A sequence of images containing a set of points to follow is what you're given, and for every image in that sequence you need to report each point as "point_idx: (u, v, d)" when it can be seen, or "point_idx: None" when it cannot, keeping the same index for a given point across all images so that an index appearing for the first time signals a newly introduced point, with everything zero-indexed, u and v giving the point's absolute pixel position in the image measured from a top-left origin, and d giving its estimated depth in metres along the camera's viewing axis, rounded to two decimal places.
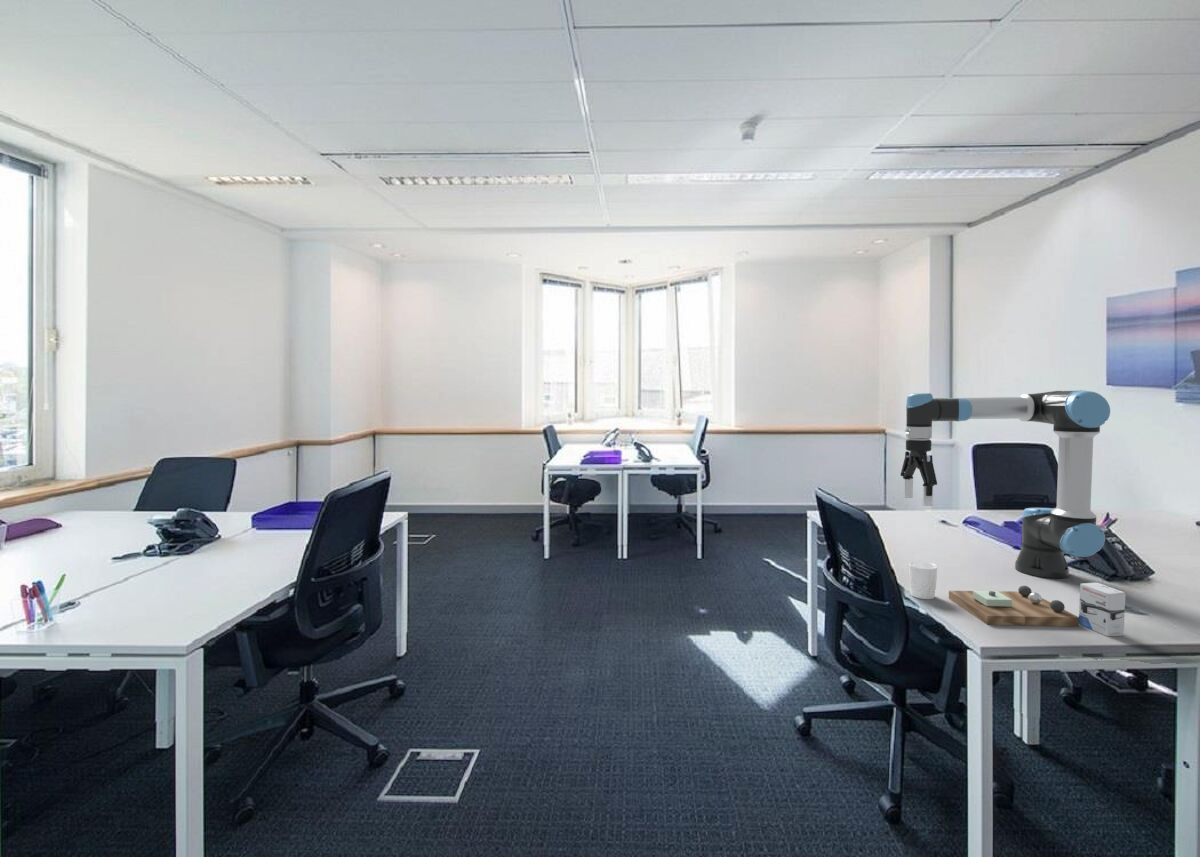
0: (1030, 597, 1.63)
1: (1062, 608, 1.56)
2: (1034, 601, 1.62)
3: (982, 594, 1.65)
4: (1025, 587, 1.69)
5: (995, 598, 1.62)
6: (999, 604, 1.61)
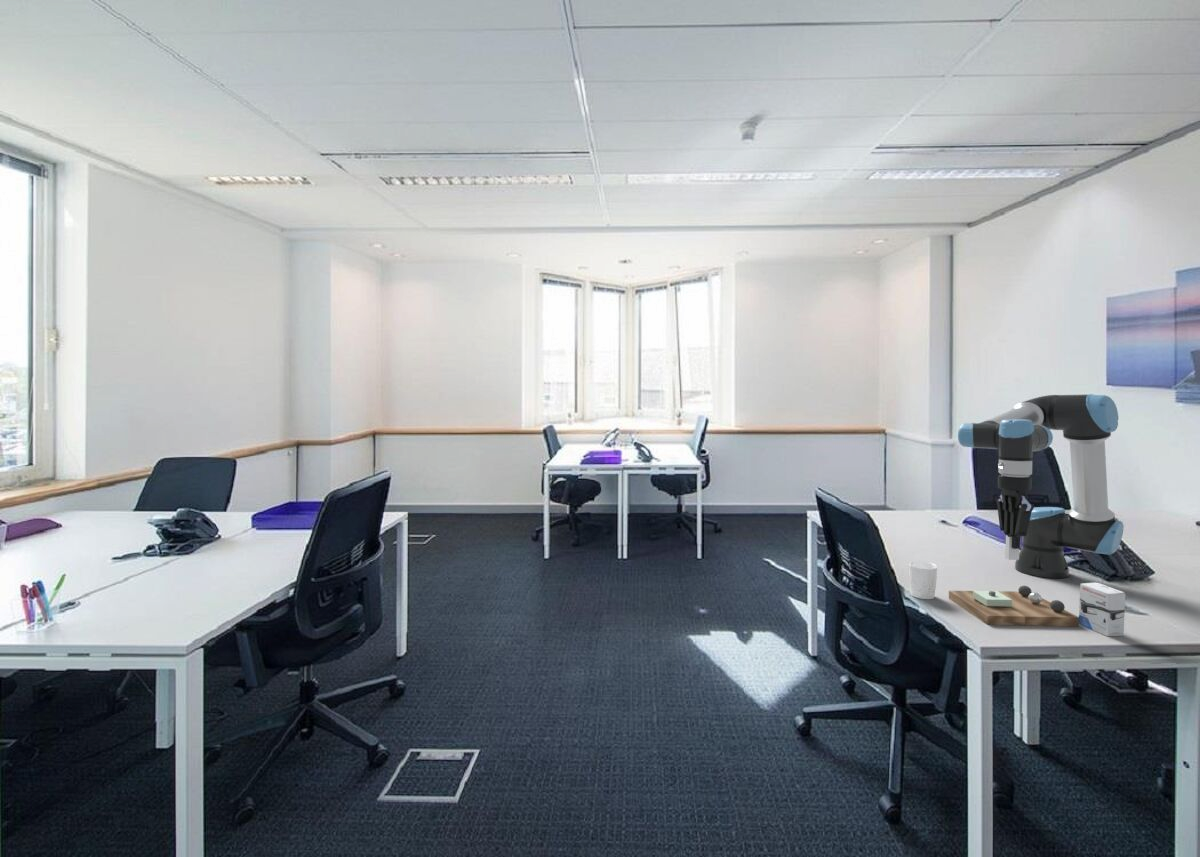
0: (1030, 597, 1.63)
1: (1062, 608, 1.56)
2: (1034, 601, 1.62)
3: (982, 594, 1.65)
4: (1025, 587, 1.69)
5: (995, 598, 1.62)
6: (999, 604, 1.61)
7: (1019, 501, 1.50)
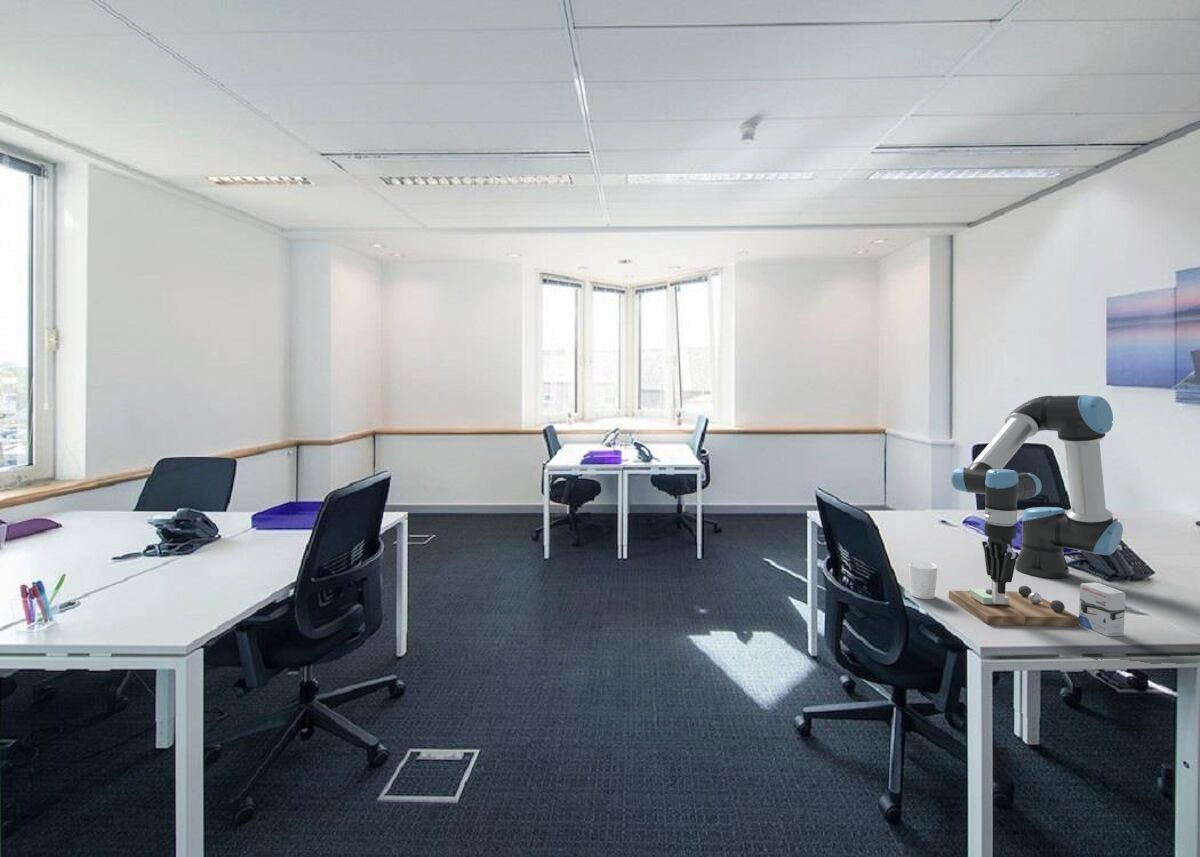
0: (1030, 597, 1.63)
1: (1062, 608, 1.56)
2: (1034, 601, 1.62)
3: (979, 592, 1.66)
4: (1025, 587, 1.69)
5: None
6: None
7: (1004, 549, 1.57)
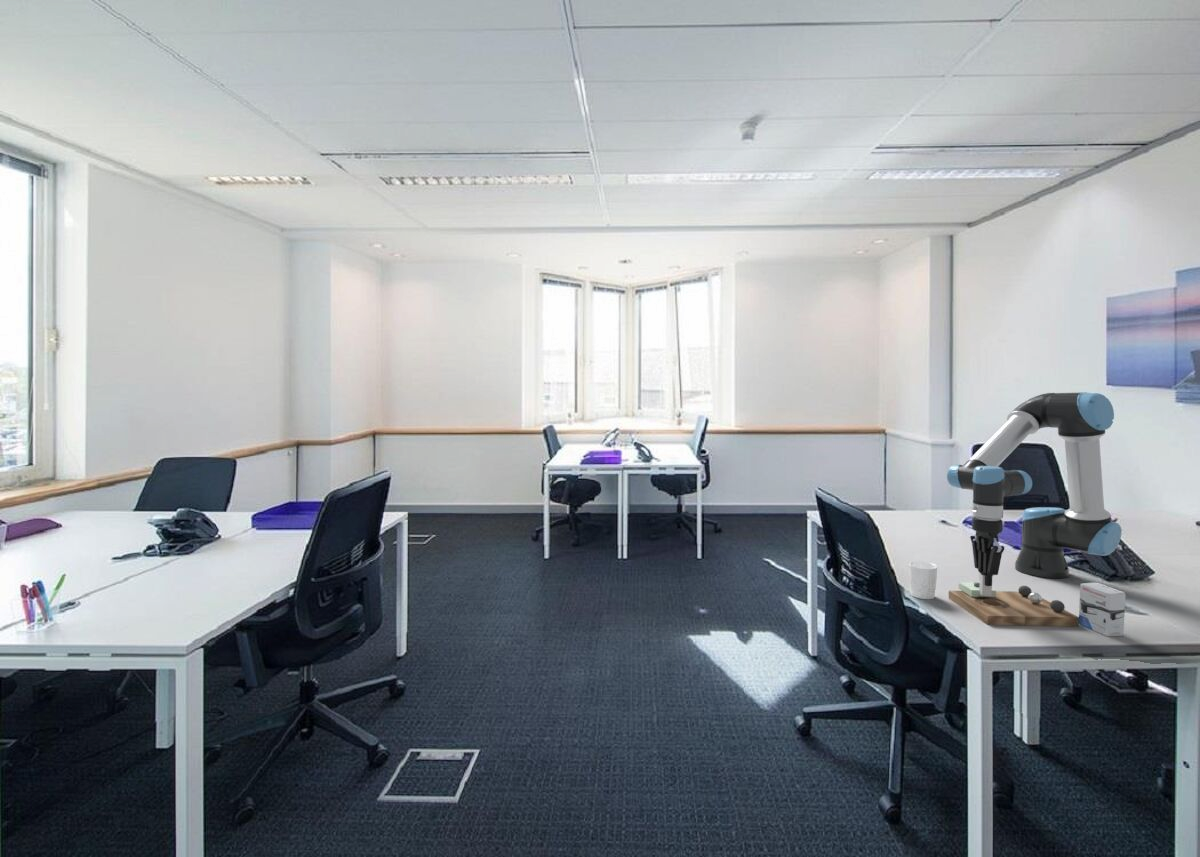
0: (1030, 597, 1.63)
1: (1062, 608, 1.56)
2: (1034, 601, 1.62)
3: (968, 585, 1.72)
4: (1025, 587, 1.69)
5: None
6: None
7: (991, 543, 1.63)
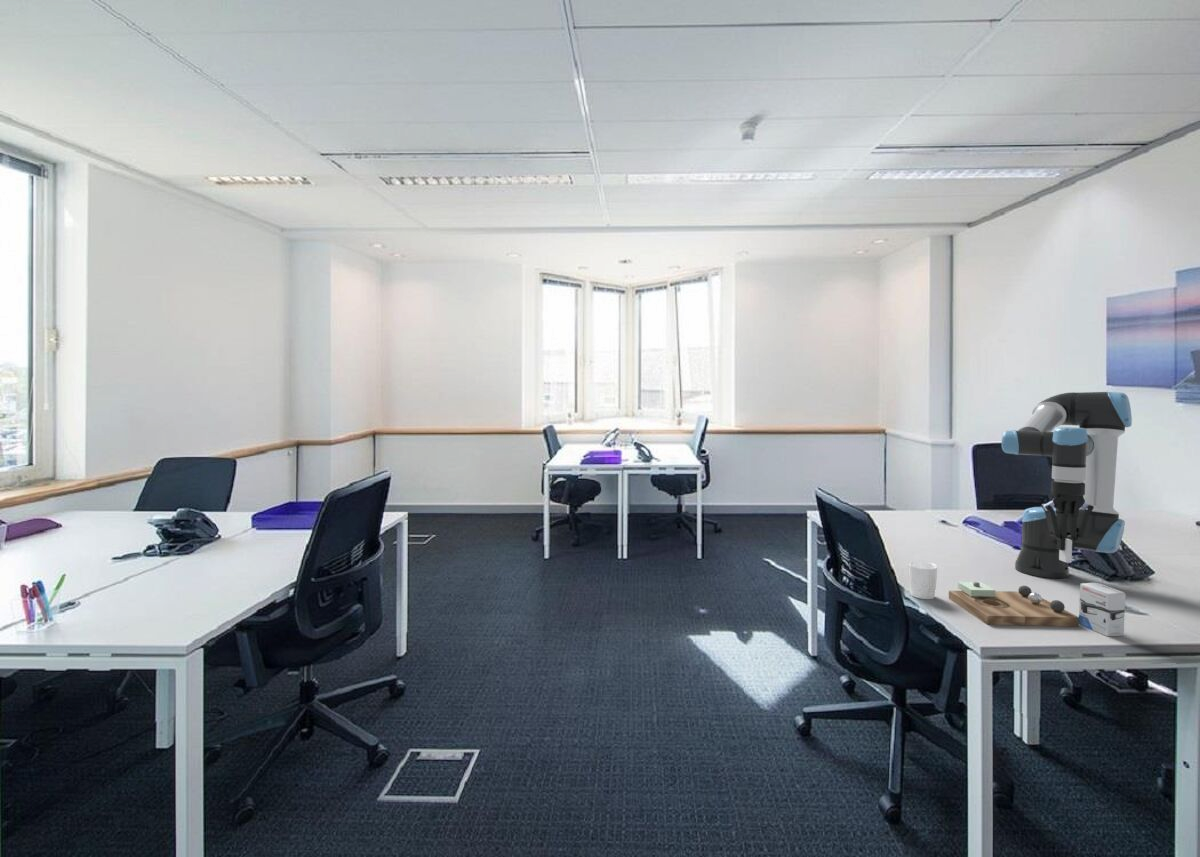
0: (1030, 597, 1.63)
1: (1062, 608, 1.56)
2: (1034, 601, 1.62)
3: (967, 585, 1.73)
4: (1025, 587, 1.69)
5: (979, 589, 1.70)
6: (983, 594, 1.69)
7: None
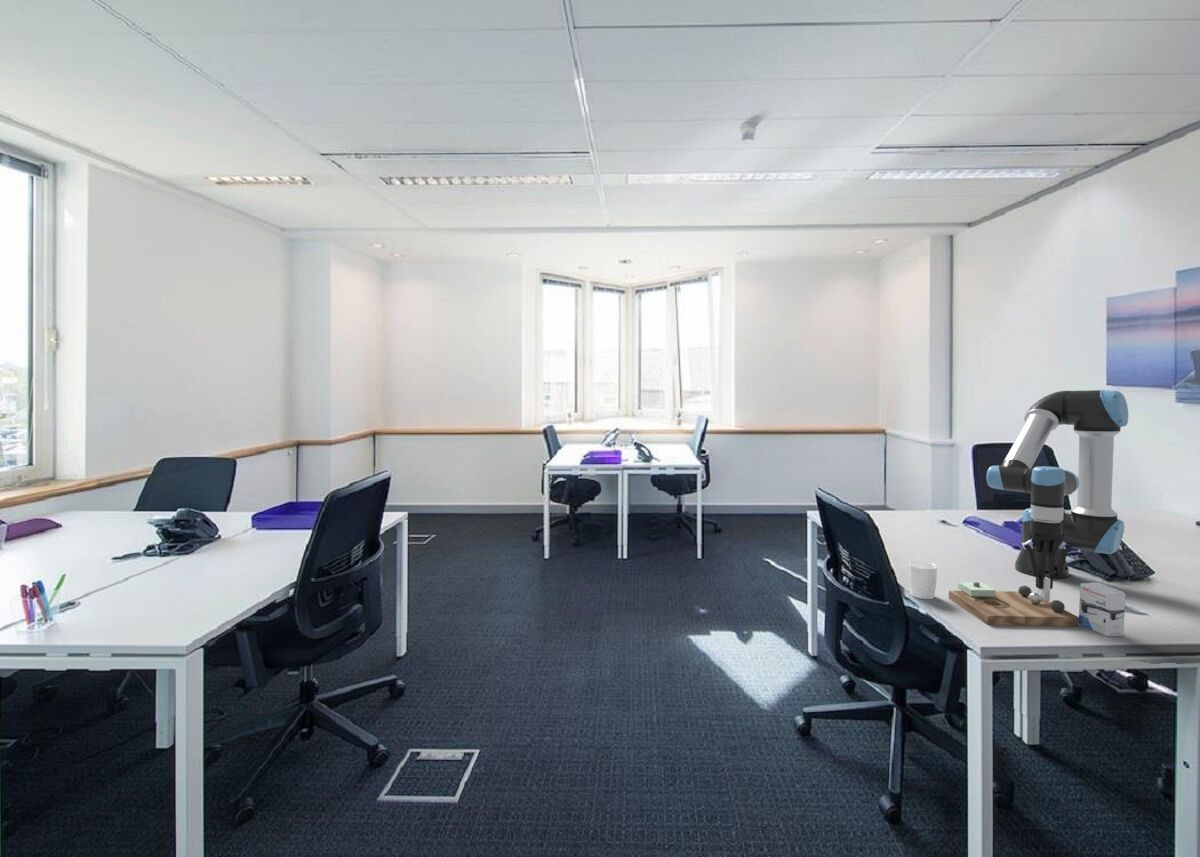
0: (1030, 597, 1.63)
1: (1062, 608, 1.56)
2: (1034, 601, 1.62)
3: (967, 585, 1.73)
4: (1025, 587, 1.69)
5: (979, 589, 1.70)
6: (983, 594, 1.69)
7: None
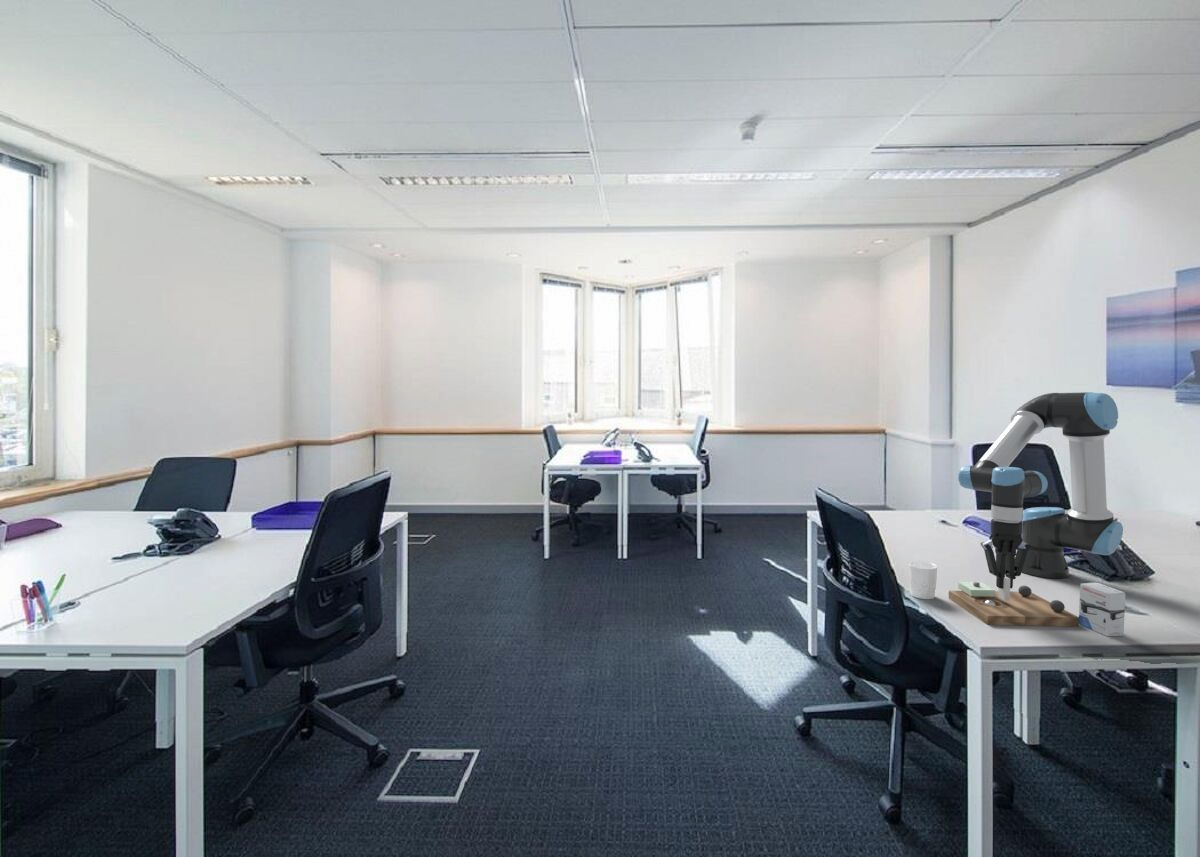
0: None
1: (1062, 608, 1.56)
2: None
3: (967, 585, 1.73)
4: (1025, 587, 1.69)
5: (979, 589, 1.70)
6: (983, 594, 1.69)
7: None
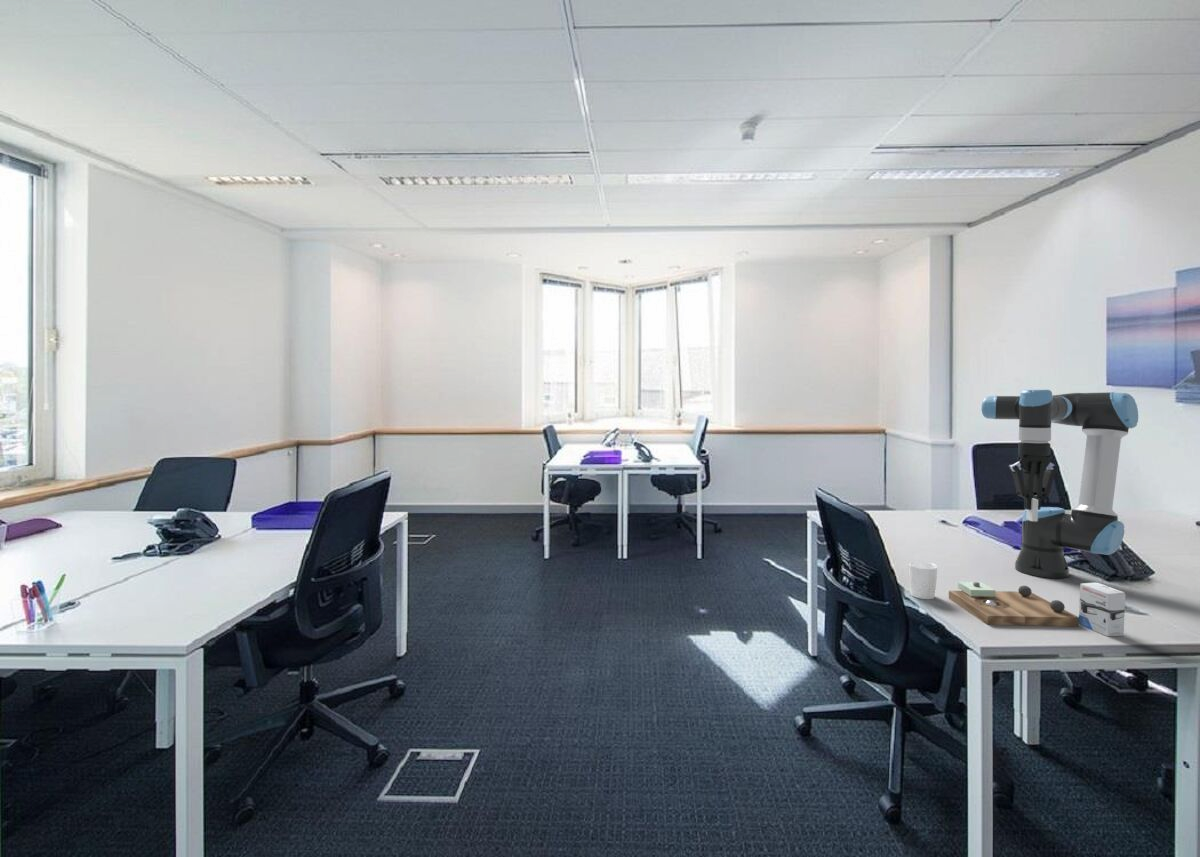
0: None
1: (1062, 608, 1.56)
2: None
3: (967, 585, 1.73)
4: (1025, 587, 1.69)
5: (979, 589, 1.70)
6: (983, 594, 1.69)
7: None
